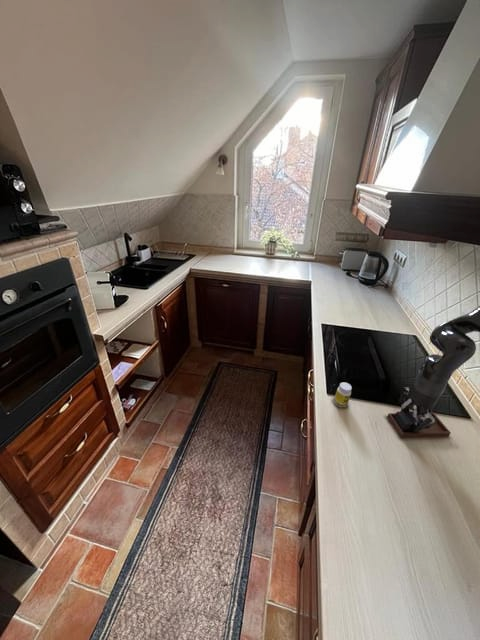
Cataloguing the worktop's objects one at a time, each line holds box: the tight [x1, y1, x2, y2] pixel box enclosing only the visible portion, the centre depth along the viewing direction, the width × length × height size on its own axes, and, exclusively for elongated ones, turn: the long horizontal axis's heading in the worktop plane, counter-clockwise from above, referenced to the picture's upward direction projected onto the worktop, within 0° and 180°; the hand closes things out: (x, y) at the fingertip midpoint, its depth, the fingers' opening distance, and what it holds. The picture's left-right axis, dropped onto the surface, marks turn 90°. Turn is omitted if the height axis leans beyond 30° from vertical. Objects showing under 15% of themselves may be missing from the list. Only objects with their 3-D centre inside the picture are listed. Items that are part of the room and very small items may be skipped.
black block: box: [394, 410, 422, 431], centre depth 84 cm, size 6×5×4 cm
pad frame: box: [386, 411, 452, 439], centre depth 85 cm, size 16×8×2 cm, turn 93°
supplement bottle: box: [333, 381, 353, 408], centre depth 92 cm, size 5×5×8 cm
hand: (407, 423), depth 85 cm, fingers closed on black block, 5 cm apart
